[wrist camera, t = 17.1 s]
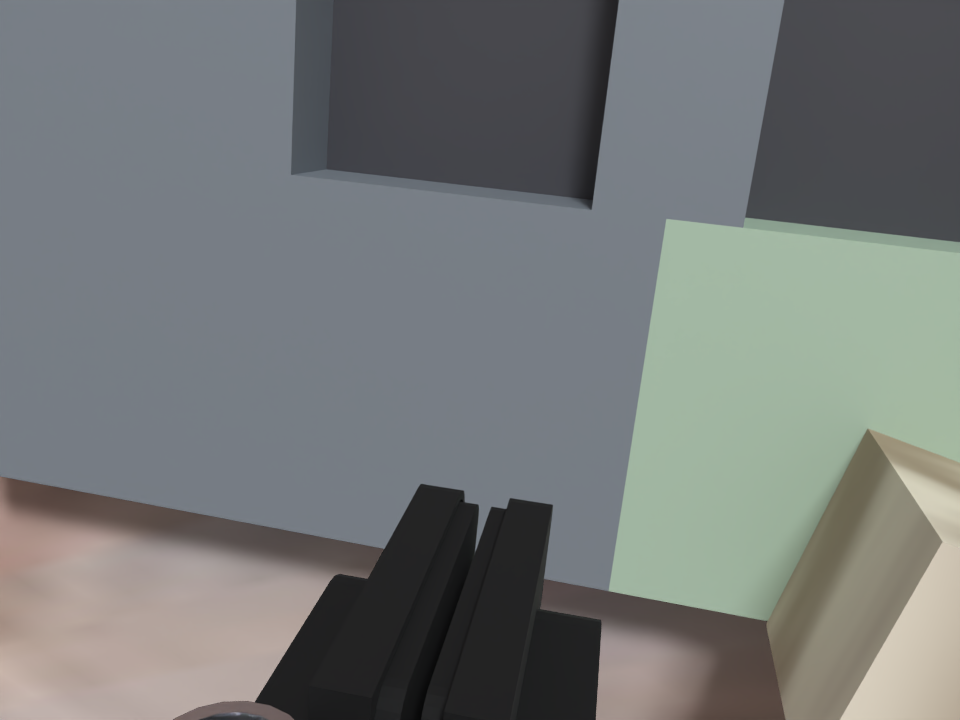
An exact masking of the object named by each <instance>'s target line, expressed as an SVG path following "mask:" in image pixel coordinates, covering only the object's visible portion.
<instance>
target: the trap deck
mask: <svg viewBox="0 0 960 720" xmlns="http://www.w3.org/2000/svg"><path fill="white" fill-rule="evenodd" d="M867 429H871V430H874V431H876V432H879V433H882V434H884V435H887V436H890V437H892V438H895V439H898V440H900V441H903V442H906V443H908V444H911V445H914V446H916V447H919V448H922V449H924V450H927V451H930V452H932V453H935V454H938V455H941V456H943V457H946V458H949V459H951V460H954V461H957V462H959V463H960V0H0V476H1V477H7V478H12V479H17V480H23V481H28V482H33V483H38V484H44V485H49V486H54V487H60V488H65V489H70V490H76V491H81V492H86V493H91V494H97V495H102V496H107V497H113V498H118V499H123V500H128V501H134V502H139V503H144V504H150V505H155V506H160V507H166V508H171V509H176V510H181V511H187V512H192V513H197V514H203V515H208V516H213V517H219V518H224V519H229V520H234V521H240V522H245V523H250V524H256V525H261V526H266V527H271V528H277V529H282V530H287V531H293V532H298V533H303V534H309V535H314V536H319V537H324V538H330V539H335V540H340V541H346V542H351V543H356V544H362V545H367V546H372V547H377V548H383V549H385V547H386V545H387V543H388V541H389V540H390V538H391V536H392V534H393V532H394V531H395V529H396V527H397V525H398V523H399V521H400V520H401V518H402V516H403V514H404V512H405V511H406V509H407V507H408V505H409V503H410V501H411V500H412V498H413V496H414V494H415V492H416V491H417V489H418V487H419V486H420V484H426V485H432V486H438V487H445V488H451V489H457V490H463V491H464V493H465V502H466V503H472V504H478V505H479V517H478V527H477V537H476V547H475V552H476V549H477V546H478V543H479V540H480V537H481V534H482V532H483V529H484V526H485V523H486V520H487V517H488V514H489V511H490V509H491V507H497V508H503V509H507V505H508V502H509V499H510V498H514V499H520V500H526V501H533V502H539V503H545V504H551V505H553V512H552V521H551V529H550V536H549V544H548V552H547V560H546V567H545V575H544V579H547V580H552V581H557V582H563V583H568V584H573V585H579V586H584V587H589V588H595V589H600V590H605V591H610V592H616V593H621V594H626V595H632V596H637V597H642V598H648V599H653V600H658V601H663V602H669V603H674V604H679V605H685V606H690V607H695V608H701V609H706V610H711V611H716V612H722V613H727V614H732V615H738V616H743V617H748V618H753V619H759V620H764V621H768V620H769V618H770V616H771V614H772V612H773V610H774V608H775V606H776V604H777V602H778V600H779V598H780V597H781V595H782V593H783V591H784V589H785V587H786V585H787V583H788V581H789V579H790V577H791V575H792V573H793V571H794V569H795V568H796V566H797V564H798V562H799V560H800V558H801V556H802V554H803V552H804V550H805V548H806V546H807V544H808V542H809V541H810V539H811V537H812V535H813V533H814V531H815V529H816V527H817V525H818V523H819V521H820V519H821V517H822V515H823V514H824V512H825V510H826V508H827V506H828V504H829V502H830V500H831V498H832V496H833V494H834V492H835V490H836V488H837V487H838V485H839V483H840V481H841V479H842V477H843V475H844V473H845V471H846V469H847V467H848V465H849V463H850V461H851V460H852V458H853V456H854V454H855V452H856V450H857V448H858V446H859V444H860V442H861V440H862V438H863V436H864V434H865V433H866V431H867Z"/></svg>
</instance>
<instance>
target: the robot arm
mask: <svg viewBox="0 0 960 720" xmlns="http://www.w3.org/2000/svg"><path fill="white" fill-rule="evenodd" d="M552 512H553V505H551V504H545V503H539V502H533V501H526V500H520V499H514V498H510V499H509V502H508V505H507V509H503V508H497V507H491V509H490V511H489V514H488V517H487V520H486V523H485V526H484V529H483V532H482V534H481V537H480V540H479V543H478V546H477V549H476V552H475V547H476V537H477V527H478V517H479V505H478V504H472V503H466V502H465V493H464V491H463V490H457V489H451V488H445V487H438V486H432V485H426V484H420V486H419V487H418V489H417V491H416V492H415V494H414V496H413V498H412V500H411V501H410V503H409V505H408V507H407V509H406V511H405V512H404V514H403V516H402V518H401V520H400V521H399V523H398V525H397V527H396V529H395V531H394V532H393V534H392V536H391V538H390V540H389V541H388V543H387V545H386V547H385V549H384V551H383V552H382V554H381V556H380V558H379V560H378V561H377V563H376V565H375V567H374V569H373V571H372V572H371V574H370V576H369V578H368V579H365V578H359V577H353V576H348V575H342V574H338V575H335V576H334V578H333V579H332V580H331V581H330V583H329V584H328V586H327V587H326V589H325V591H324V592H323V594H322V595H321V597H320V599H319V600H318V602H317V603H316V605H315V607H314V608H313V610H312V611H311V613H310V615H309V616H308V618H307V619H306V621H305V623H304V624H303V626H302V627H301V629H300V631H299V632H298V634H297V635H296V637H295V639H294V640H293V642H292V643H291V645H290V647H289V648H288V650H287V651H286V653H285V655H284V656H283V658H282V659H281V661H280V663H279V664H278V666H277V667H276V669H275V671H274V672H273V674H272V675H271V677H270V679H269V680H268V682H267V683H266V685H265V687H264V688H263V690H262V691H261V693H260V695H259V696H258V698H257V699H256V701H255V702H250V701H233V702H220V703H215V704H211V705H207V706H203V707H198V708H196V709H194V710H192V711H189V712H187V713H185V714H183V715H181V716H179V717H177V718H175V719H173V720H596V704H597V688H598V672H599V656H600V640H601V620H598V619H592V618H586V617H581V616H575V615H569V614H564V613H558V612H552V611H547V610H541V609H540V606H541V598H542V591H543V583H544V575H545V567H546V560H547V552H548V544H549V536H550V529H551V521H552Z"/></svg>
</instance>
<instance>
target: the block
mask: <svg viewBox="0 0 960 720" xmlns="http://www.w3.org/2000/svg"><path fill="white" fill-rule="evenodd" d="M766 627H767V632H768V637H769V642H770V647H771V652H772V657H773V661H774V666H775V671H776V676H777V681H778V686H779V691H780V696H781V700H782V705H783V710H784V715H785V720H960V463H959V462H957V461H954V460H951V459H949V458H946V457H943V456H941V455H938V454H935V453H932V452H930V451H927V450H924V449H922V448H919V447H916V446H914V445H911V444H908V443H906V442H903V441H900V440H898V439H895V438H892V437H890V436H887V435H884V434H882V433H879V432H876V431H874V430H871V429H867V431H866V433H865V434H864V436H863V438H862V440H861V442H860V444H859V446H858V448H857V450H856V452H855V454H854V456H853V458H852V460H851V461H850V463H849V465H848V467H847V469H846V471H845V473H844V475H843V477H842V479H841V481H840V483H839V485H838V487H837V488H836V490H835V492H834V494H833V496H832V498H831V500H830V502H829V504H828V506H827V508H826V510H825V512H824V514H823V515H822V517H821V519H820V521H819V523H818V525H817V527H816V529H815V531H814V533H813V535H812V537H811V539H810V541H809V542H808V544H807V546H806V548H805V550H804V552H803V554H802V556H801V558H800V560H799V562H798V564H797V566H796V568H795V569H794V571H793V573H792V575H791V577H790V579H789V581H788V583H787V585H786V587H785V589H784V591H783V593H782V595H781V597H780V598H779V600H778V602H777V604H776V606H775V608H774V610H773V612H772V614H771V616H770V618H769V620H768V622H767V624H766Z"/></svg>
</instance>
